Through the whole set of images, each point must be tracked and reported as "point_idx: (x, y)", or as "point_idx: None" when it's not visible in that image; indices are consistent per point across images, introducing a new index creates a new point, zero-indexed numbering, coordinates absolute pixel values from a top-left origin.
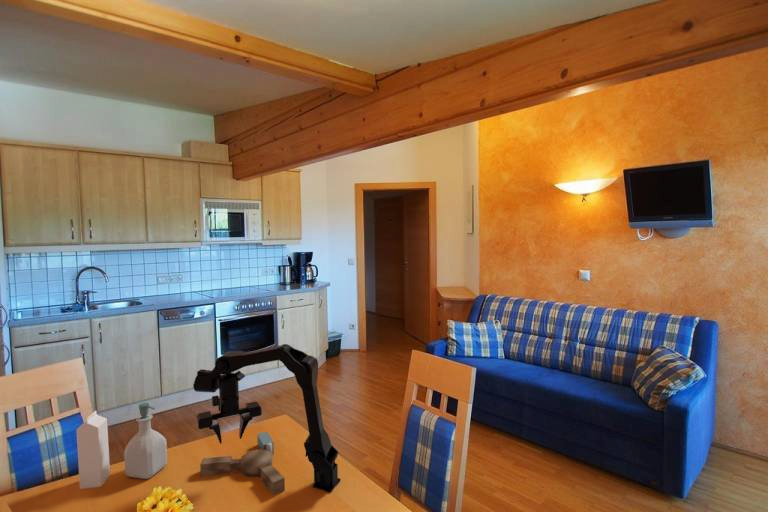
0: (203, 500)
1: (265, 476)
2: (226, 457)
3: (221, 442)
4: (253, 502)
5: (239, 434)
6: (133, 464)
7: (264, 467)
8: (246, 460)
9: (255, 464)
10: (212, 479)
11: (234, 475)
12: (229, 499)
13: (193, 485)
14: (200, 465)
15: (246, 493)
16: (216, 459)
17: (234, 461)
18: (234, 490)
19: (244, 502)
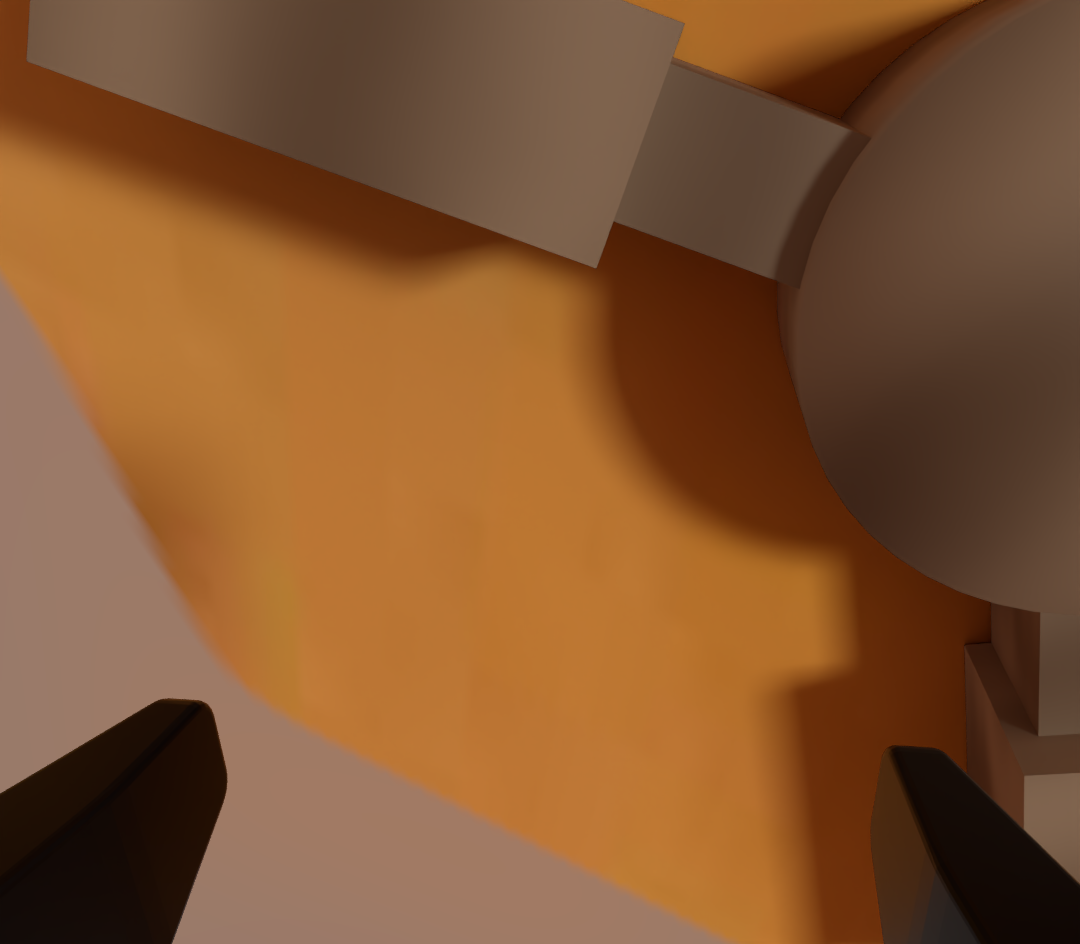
0: (248, 627)
1: None
2: (554, 49)
3: (209, 836)
4: (738, 907)
5: (911, 904)
6: None
7: None
8: (920, 339)
9: (1013, 558)
10: (341, 242)
11: (664, 309)
12: (518, 751)
13: (89, 257)
14: (44, 59)
15: (713, 755)
16: (340, 20)
17: (704, 186)
18: (596, 639)
19: (655, 865)
